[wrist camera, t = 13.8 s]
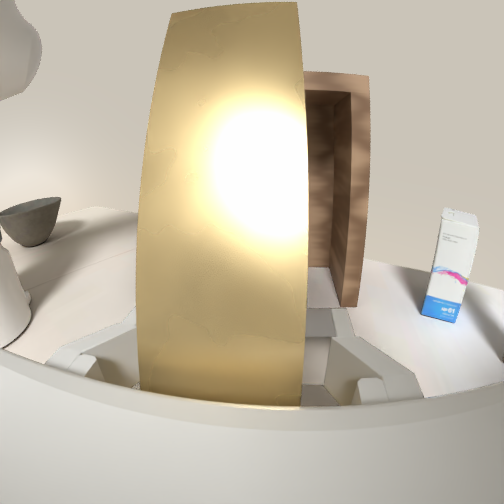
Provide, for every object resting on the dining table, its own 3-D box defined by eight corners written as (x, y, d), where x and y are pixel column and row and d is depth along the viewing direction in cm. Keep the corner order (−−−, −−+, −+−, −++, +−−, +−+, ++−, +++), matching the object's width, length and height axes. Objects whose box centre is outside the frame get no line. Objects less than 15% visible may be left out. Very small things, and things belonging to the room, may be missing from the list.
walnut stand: (191, 302, 37) (176, 79, 28) (215, 259, 50) (208, 96, 41) (356, 306, 34) (368, 75, 25) (339, 262, 47) (344, 95, 38)
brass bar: (171, 13, 7) (201, 74, 10) (189, 602, 6) (205, 557, 9) (296, 2, 6) (296, 69, 10) (268, 611, 5) (273, 564, 9)
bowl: (12, 241, 65) (6, 206, 62) (69, 228, 74) (64, 193, 70) (-5, 262, 50) (-15, 220, 46) (63, 247, 58) (56, 203, 55)
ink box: (456, 325, 28) (481, 226, 24) (419, 315, 31) (438, 217, 27) (459, 295, 35) (476, 212, 31) (428, 287, 38) (442, 205, 34)
